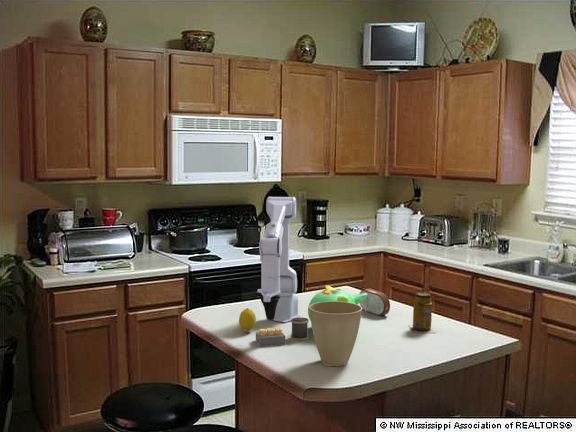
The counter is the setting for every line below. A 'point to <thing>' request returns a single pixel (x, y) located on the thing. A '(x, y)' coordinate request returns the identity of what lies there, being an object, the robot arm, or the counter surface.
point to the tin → (375, 302)
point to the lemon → (247, 320)
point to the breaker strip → (270, 337)
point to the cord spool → (299, 328)
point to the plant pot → (335, 330)
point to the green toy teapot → (335, 297)
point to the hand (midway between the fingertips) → (270, 319)
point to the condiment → (422, 313)
